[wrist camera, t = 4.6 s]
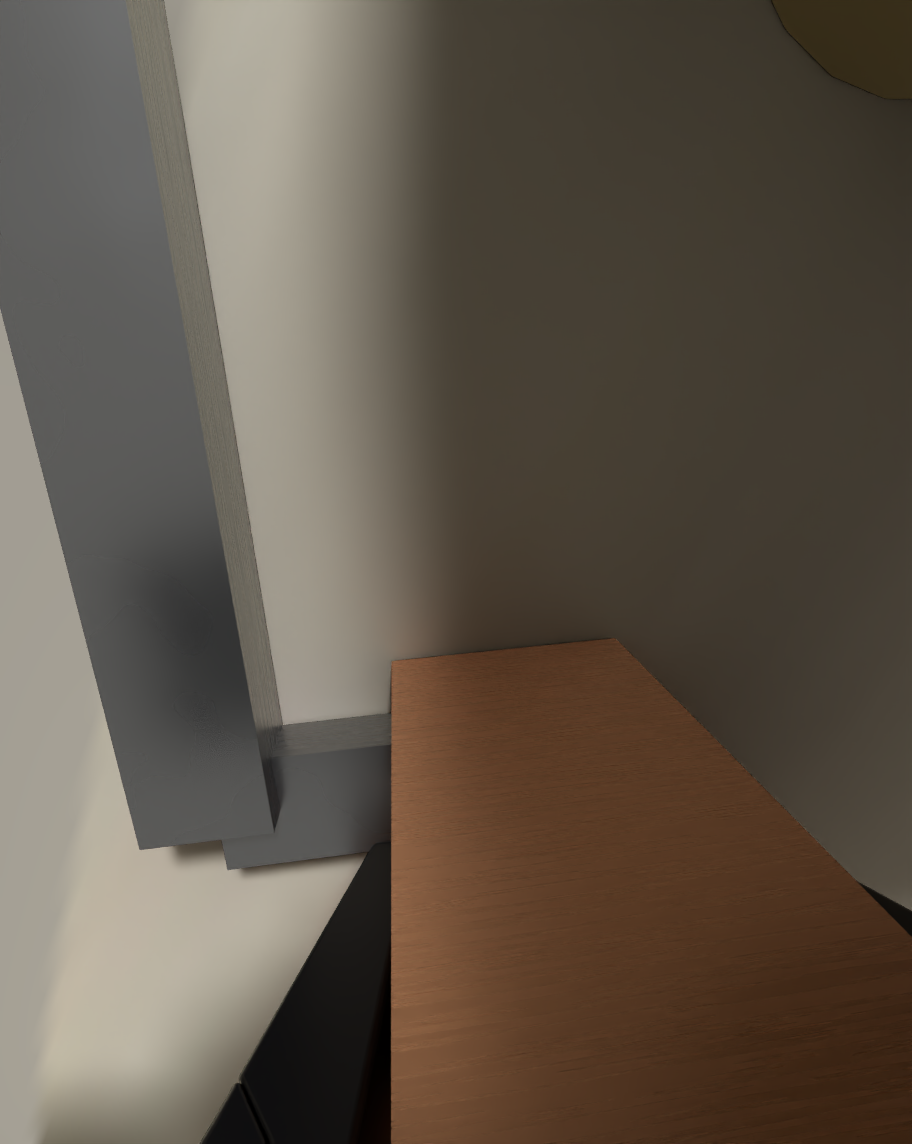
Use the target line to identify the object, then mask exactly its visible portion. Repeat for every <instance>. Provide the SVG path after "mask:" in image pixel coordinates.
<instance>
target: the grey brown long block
mask: <svg viewBox="0 0 912 1144" xmlns="http://www.w3.org/2000/svg"><path fill="white" fill-rule="evenodd" d="M0 309H1V313H2V316H3V321H4V324H5V328H6V332H7V336H8V340H9V344H10V348H11V352H12V356H13V359H14V363H15V367H16V371H17V375H18V378H19V383H20V386H21V391H22V394H23V398H24V402H25V406H26V410H27V414H28V417H29V422H30V426H31V429H32V433H33V437H34V441H35V445H36V449H37V453H38V457H39V460H40V464H41V468H42V472H43V476H44V480H45V484H46V488H47V492H48V495H49V499H50V503H51V507H52V511H53V515H54V519H55V523H56V526H57V530H58V534H59V538H60V542H61V546H62V550H63V554H64V557H65V562H66V565H67V569H68V573H69V577H70V581H71V585H72V588H73V592H74V596H75V600H76V604H77V608H78V612H79V616H80V620H81V623H82V627H83V632H84V635H85V639H86V643H87V647H88V651H89V655H90V659H91V663H92V667H93V670H94V674H95V678H96V682H97V686H98V690H99V694H100V698H101V701H102V705H103V709H104V713H105V717H106V721H107V725H108V729H109V733H110V736H111V740H112V744H113V748H114V752H115V756H116V760H117V764H118V768H119V771H120V775H121V779H122V783H123V787H124V791H125V795H126V799H127V803H128V806H129V810H130V814H131V818H132V822H133V826H134V830H135V834H136V838H137V841H138V845H139V849H140V850H144V849H152V848H160V847H168V846H176V845H183V844H191V843H199V842H207V841H215V840H222V845H223V850H224V855H225V859H226V864H227V869H228V870H231V869H239V868H247V867H254V866H262V865H270V864H277V863H285V862H293V861H300V860H308V859H315V858H323V857H331V856H338V855H346V854H354V853H361V852H369V851H370V849H371V847H372V846H373V845H374V844H375V843H377V842H384V841H391V1144H912V937H911V936H910V935H909V934H908V933H907V932H906V931H905V930H904V929H903V928H902V927H901V926H900V925H899V924H898V923H897V922H896V921H895V920H894V919H893V918H892V917H891V915H890V914H889V913H888V912H887V911H886V910H885V909H884V908H883V907H882V906H881V905H880V904H879V903H878V902H877V901H876V900H875V899H874V898H873V897H872V896H871V895H870V894H869V893H868V892H867V891H866V890H865V889H864V888H863V887H862V886H861V885H860V884H859V883H858V882H857V881H856V880H855V879H854V878H853V877H852V876H851V875H850V874H849V873H848V872H847V871H846V870H845V869H844V868H843V867H842V866H841V865H840V864H839V863H838V862H837V861H836V860H835V859H834V858H833V857H832V856H831V855H830V854H829V853H828V852H827V851H826V850H825V849H824V848H823V847H822V846H821V845H820V844H819V843H818V842H817V841H816V840H815V839H814V838H813V837H812V836H811V835H810V834H809V833H808V832H807V831H806V830H805V829H804V828H803V827H802V826H801V825H800V824H799V823H798V822H797V821H796V820H795V819H794V818H793V817H792V816H791V815H790V814H789V813H788V812H787V811H786V810H785V809H784V808H783V807H782V806H781V805H780V804H779V803H778V802H777V801H776V800H775V799H774V798H773V797H772V796H771V795H770V794H769V793H768V792H767V791H766V790H765V789H764V788H763V787H762V786H761V785H760V784H759V783H758V782H757V781H756V780H755V779H754V778H753V777H752V776H751V775H750V774H749V773H748V772H747V771H746V769H745V768H744V767H743V766H742V765H741V764H740V763H739V762H738V761H737V760H736V759H735V758H734V757H733V756H732V755H731V754H730V753H729V752H728V751H727V750H726V749H725V748H724V747H723V746H722V745H721V744H720V743H719V742H718V741H717V740H716V739H715V738H714V737H713V736H712V735H711V734H710V733H709V732H708V731H707V730H706V729H705V728H704V727H703V726H702V725H701V724H700V723H699V722H698V721H697V720H696V719H695V718H694V717H693V716H692V715H691V714H690V713H689V712H688V711H687V710H686V709H685V708H684V707H683V706H682V705H681V704H680V703H679V702H678V701H677V700H676V699H675V698H674V697H673V696H672V695H671V694H670V693H669V692H668V691H667V690H666V689H665V688H664V687H663V686H662V685H661V684H660V683H659V682H658V681H657V680H656V679H655V678H654V677H653V676H652V675H651V674H650V673H649V672H648V671H647V670H646V669H645V668H644V667H643V666H642V665H641V664H640V663H639V662H638V661H637V660H636V659H635V658H634V657H633V656H632V655H631V654H630V653H629V652H628V651H627V650H626V649H625V648H624V647H623V646H622V645H621V644H620V643H619V642H618V641H617V640H616V639H615V638H612V639H602V640H592V641H582V642H573V643H563V644H553V645H543V646H533V647H524V648H514V649H504V650H495V651H485V652H475V653H465V654H456V655H446V656H436V657H426V658H417V659H407V660H397V661H392V713H389V714H380V715H370V716H361V717H352V718H343V719H334V720H325V721H316V722H307V723H298V724H289V725H282V720H281V713H280V707H279V701H278V695H277V689H276V683H275V677H274V671H273V665H272V658H271V652H270V646H269V640H268V634H267V628H266V622H265V616H264V610H263V603H262V597H261V591H260V585H259V579H258V573H257V567H256V561H255V555H254V548H253V542H252V536H251V530H250V524H249V518H248V512H247V506H246V500H245V493H244V487H243V481H242V475H241V469H240V463H239V457H238V451H237V445H236V438H235V432H234V426H233V420H232V414H231V408H230V402H229V396H228V390H227V383H226V377H225V371H224V365H223V359H222V353H221V347H220V341H219V335H218V328H217V322H216V316H215V310H214V304H213V298H212V292H211V286H210V280H209V274H208V267H207V261H206V255H205V249H204V243H203V237H202V231H201V225H200V219H199V212H198V206H197V200H196V194H195V188H194V182H193V176H192V170H191V164H190V157H189V151H188V145H187V139H186V133H185V127H184V121H183V115H182V109H181V102H180V96H179V90H178V84H177V78H176V72H175V66H174V60H173V54H172V47H171V41H170V35H169V30H168V24H167V18H166V11H165V5H164V0H0Z"/></svg>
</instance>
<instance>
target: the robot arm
mask: <svg viewBox="0 0 912 1144" xmlns="http://www.w3.org/2000/svg"><path fill="white" fill-rule="evenodd" d="M857 882H858V881H857ZM858 883H859V884H860V885H861V886H862V887H863V888H864V889H865V890H866V891H867V892H868V893H869V894H870V895H871V896H872V897H873V898H874V899H875V900H876V901H877V902H878V903H879V904H880V905H881V906H882V907H883V908H884V909H885V910H886V911H887V912H888V913H889V914H890V915H891V917H892V918H893V919H894V920H895V921H896V922H897V923H898V924H899V925H900V926H901V927H902V928H903V929H904V930H905V931H906V932H907V933H908V934H909V935H910V936H911V937H912V911H911V910H909V909H907V908H905V907H904V906H902V905H900V904H898V903H896V902H894V901H893V900H891V899H889V898H887V897H885V896H883V895H882V894H880V893H878V892H876V891H874V890H872V889H871V888H869V887H867V886H865V885H863V884H861V883H860V882H858ZM239 1082H240V1083H236V1084H234V1086H233V1087H232V1089H231V1091H230V1092H229V1094H228V1096H227V1098H226V1099H225V1101H224V1103H223V1105H222V1106H221V1108H220V1110H219V1112H218V1113H217V1115H216V1117H215V1119H214V1120H213V1122H212V1124H211V1126H210V1127H209V1129H208V1130H207V1132H206V1134H205V1135H204V1137H203V1139H202V1140H201V1142H200V1144H391V841H384V842H377V843H375V844H374V845H373V846H372V847H371V849H370V851H369V852H368V854H367V856H366V858H365V859H364V861H363V863H362V864H361V866H360V868H359V870H358V871H357V873H356V875H355V877H354V878H353V880H352V882H351V884H350V885H349V887H348V889H347V890H346V892H345V894H344V896H343V897H342V899H341V901H340V903H339V904H338V906H337V908H336V910H335V911H334V913H333V915H332V916H331V918H330V920H329V922H328V923H327V925H326V927H325V929H324V930H323V932H322V934H321V936H320V937H319V939H318V941H317V942H316V944H315V946H314V948H313V949H312V951H311V953H310V955H309V956H308V958H307V960H306V961H305V963H304V965H303V967H302V968H301V970H300V972H299V974H298V975H297V977H296V979H295V981H294V982H293V984H292V986H291V987H290V989H289V991H288V993H287V994H286V996H285V998H284V1000H283V1001H282V1003H281V1005H280V1007H279V1008H278V1010H277V1012H276V1013H275V1015H274V1017H273V1019H272V1020H271V1022H270V1024H269V1026H268V1027H267V1029H266V1031H265V1033H264V1034H263V1036H262V1038H261V1039H260V1041H259V1043H258V1045H257V1046H256V1048H255V1050H254V1052H253V1053H252V1055H251V1057H250V1059H249V1060H248V1062H247V1064H246V1065H245V1067H244V1069H243V1071H242V1072H241V1074H240V1076H239Z"/></svg>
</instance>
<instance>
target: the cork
mask: <svg viewBox="0 0 912 1144" xmlns="http://www.w3.org/2000/svg"><path fill="white" fill-rule="evenodd" d="M772 2H773V4H774V6H775V8H776V11H777V13H778V15H779V17H780V19H781V21H782V23H783V25H784V27H785V29H786V30H787V31H788V32H789V33H790V34H791V35H792V36H793V37H794V38H795V39H796V40H797V41H798V42H799V44H800V45H801V46H802V47H803V48H804V49H805V50H806V51H807V52H808V53H809V54H810V55H811V56H812V57H813V58H814V59H815V60H816V61H817V62H818V63H819V64H820V65H821V66H822V67H823V68H824V69H825V70H826V71H827V72H828V73H829V74H830V75H831V76H833V77H835V78H838V79H840V80H842V81H845V82H847V83H849V84H852V85H854V86H856V87H859V88H861V89H863V90H866V91H868V92H870V93H873V94H875V95H877V96H880V97H882V98H884V99H912V0H772Z"/></svg>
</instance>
